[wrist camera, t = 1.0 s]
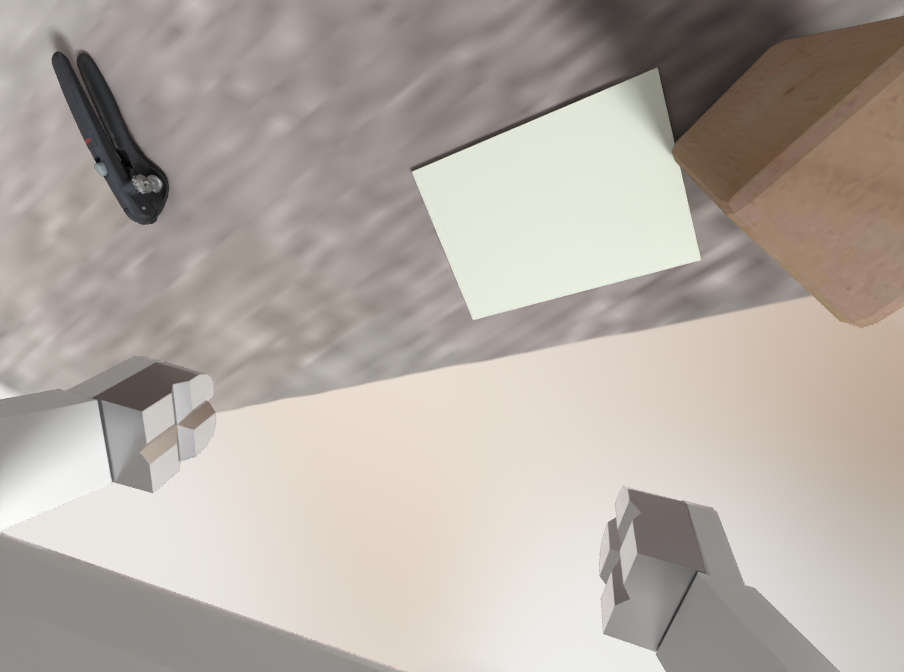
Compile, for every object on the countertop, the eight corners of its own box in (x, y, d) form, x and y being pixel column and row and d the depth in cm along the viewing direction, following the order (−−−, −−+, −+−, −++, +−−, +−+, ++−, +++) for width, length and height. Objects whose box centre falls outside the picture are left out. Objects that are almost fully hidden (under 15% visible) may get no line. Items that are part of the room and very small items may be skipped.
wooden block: (778, 35, 35) (956, -8, 18) (874, 131, 36) (1128, 179, 19) (664, 150, 40) (715, 205, 23) (750, 232, 41) (862, 342, 24)
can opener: (191, 211, 57) (153, 223, 52) (149, 224, 59) (109, 237, 54) (107, 39, 50) (54, 36, 45) (64, 62, 52) (9, 62, 48)
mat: (657, 67, 38) (657, 67, 37) (700, 258, 43) (700, 260, 43) (413, 171, 47) (411, 171, 47) (473, 318, 52) (473, 319, 52)
